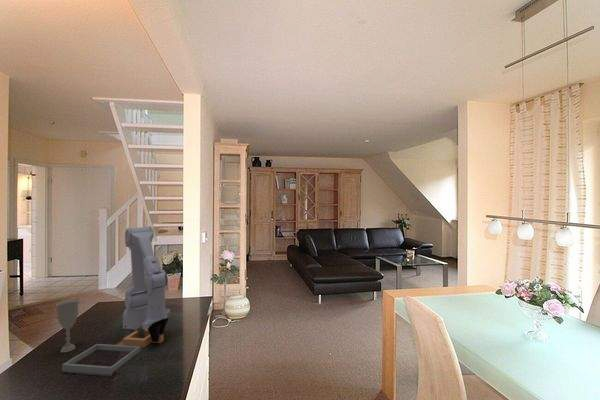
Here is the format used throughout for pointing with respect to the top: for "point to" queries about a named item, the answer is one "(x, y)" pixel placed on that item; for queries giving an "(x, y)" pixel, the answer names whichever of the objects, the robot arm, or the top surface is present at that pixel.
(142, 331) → the tan wooden piece
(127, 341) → the tan flat frame
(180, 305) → the top surface
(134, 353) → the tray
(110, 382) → the top surface
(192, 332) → the top surface
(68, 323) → the chalice
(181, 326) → the top surface
